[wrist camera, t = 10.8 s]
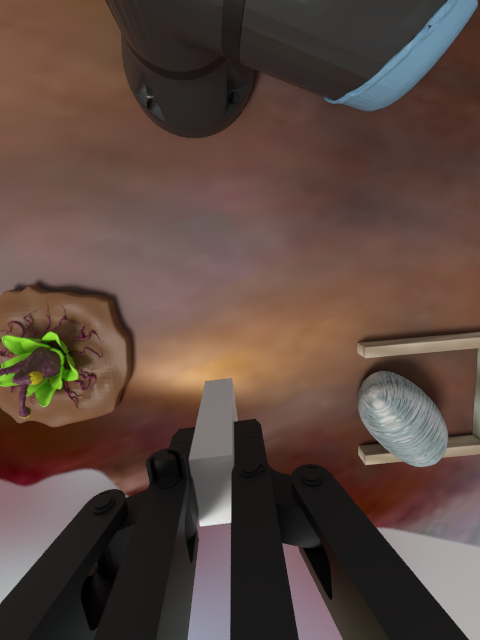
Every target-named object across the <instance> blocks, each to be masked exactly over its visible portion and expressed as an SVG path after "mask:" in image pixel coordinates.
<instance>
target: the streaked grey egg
mask: <svg viewBox="0 0 480 640" xmlns="http://www.w3.org/2000/svg"><path fill="white" fill-rule="evenodd" d="M358 410H359V415H360V417H361V420H362V422H363V424H364V425H365V426H366V428H367V429H368V431H369V432H370V433H371V434H372V435H373V436H374V438H375V439H376V440H377V441H378V442H379V443H380V444H381V445H382V446H383V447H384V448H385V449H387V450H388V451H389V452H390V453H391V454H393V455H394V456H395V457H397V458H399V459H400V460H402V461H404V462H406V463H408V464H410V465H413V466H418V467H424V466H430V465H433V464H436V463H437V462H438V461H439V460H440V459H441V458H442V457H443V455H444V454H445V452H446V448H447V442H448V432H447V426H446V423H445V421H444V419H443V416H442V414H441V413H440V411H439V410H438V408H437V406H436V405H435V403H434V402H433V401H432V400H431V399H430V398H429V397H428V396H427V395H426V394H425V393H424V392H423V391H422V390H421V389H420V388H419V387H417V386H416V385H415V384H414V383H412V382H411V381H409V380H408V379H406V378H404V377H402V376H400V375H398V374H396V373H393V372H389V371H379V372H376V373H373V374H371V375H370V376H369V377H367V378H366V379H365V380H364V381H363V383H362V385H361V387H360V391H359V395H358Z"/></svg>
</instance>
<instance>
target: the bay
mask: <svg viewBox="0 0 480 640" xmlns="http://www.w3.org/2000/svg"><path fill="white" fill-rule="evenodd" d="M472 348H478V360H477V374H476V389H475V403H474V417H473V432H472V435H465V436H455V437H448V442H447V448H446V452H445V454H444V455H443V457H453V456H463V455H474V454H480V332H474V333H463V334H452V335H440V336H429V337H418V338H406V339H395V340H384V341H372V342H361V343H357V353H359V354H360V355H361V356H363V357H364V358H371V357H382V356H394V355H405V354H416V353H427V352H438V351H450V350H461V349H472ZM358 455H359V456H360V458H361V459H362V460H363V462H364V463H365V465H370V464H380V463H390V462H401V461H402V460H400V459H399V458H397V457H395V456H394V455H393V454H391V453H390V452H389V451H388V450H387V449H385V448H384V447H383V446H382V445H381V444H370V445H360V446H358ZM443 457H442V458H443Z"/></svg>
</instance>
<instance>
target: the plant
mask: <svg viewBox="0 0 480 640" xmlns="http://www.w3.org/2000/svg"><path fill="white" fill-rule="evenodd" d="M131 371H132V355H131V339H130V336H129V335H128V333H127V332H126V331H125V330H124V329H123V327H122V326H121V324H120V321H119V318H118V315H117V312H116V309H115V302H114V300H113V299H110V298H107V297H104V296H102V295H97V294H96V295H84V294H80V293H77V292H73V291H55V292H52V291H48V290H45V289H43V288H41V287H40V286H38V285H30V286H27V287H26V288H25V289H24V290H9V291H5V292H4V293H3V294H2V295H1V298H0V407H1V409H2V410H3V411H5V412H6V413H8V414H9V415H11V416H12V417H13V418H14V419H15V420H16V421H17V422H18V423H23V422H26V421H38V422H41V423H44V424H46V425H48V426H50V427H59V426H63V425H66V424H70V423H74V422H79V421H83V420H87V419H91V418H96V417H99V416H102V415H105V414H108V413H110V412H112V411H113V410H114V409H115V408H116V407H117V406H118V404H119V402H120V399H121V395H122V392H123V389H124V387H125V385H126V384H127V382H128V381H129V379H130V376H131Z"/></svg>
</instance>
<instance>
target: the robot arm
mask: <svg viewBox="0 0 480 640" xmlns="http://www.w3.org/2000/svg"><path fill="white" fill-rule="evenodd" d="M106 2H107V4H108V6H109V8H110V10H111V12H112V14H113V16H114V18H115V21H116V23H117V25H118V27H119V29H120V31H121V42H122V59H123V66H124V70H125V74H126V77H127V81H128V83H129V86H130V88H131V90H132V92H133V94H134V96H135V98H136V99H137V101H138V103H139V105H140V106H141V108H142V109H143V111H144V112H145V113H146V114H147V116H148V117H149V118H150V119H151V120H152V121H153V122H154V123H156V124H157V125H158V126H160V127H161V128H163V129H164V130H166V131H168V132H170V133H172V134H175V135H178V136H182V137H188V138H200V137H206V136H210V135H213V134H216V133H218V132H220V131H222V130H223V129H225V128H226V127H228V126H229V125H230V124H231V123H232V122H233V121H234V120H235V119H236V118H237V117H238V116H239V115H240V113H241V112H242V110H243V109H244V107H245V105H246V103H247V101H248V99H249V96H250V93H251V90H252V86H253V79H254V71H255V70H257V71H259V72H262V73H265V74H267V75H270V76H272V77H275V78H277V79H280V80H282V81H285V82H287V83H290V84H293V85H295V86H298V87H300V88H303V89H305V90H308V91H310V92H313V93H315V94H318V95H321V96H323V97H324V99H325V100H326V101H327V102H329V103H332V104H337V103H342V104H345V105H348V106H351V107H354V108H357V109H360V110H363V111H374V110H377V109H380V108H385V107H387V106H389V105H391V104H392V103H394V102H395V101H397V100H398V99H400V98H401V97H402V96H404V95H405V94H406V93H407V92H408V91H409V90H411V89H412V88H413V87H414V86H415V85H416V84H417V83H418V82H419V81H420V80H421V79H422V78H423V77H424V76H425V75H426V74H427V72H428V71H429V70H430V69H431V68H432V67H433V66H434V65H435V63H436V62H437V61H438V60H439V59H440V57H441V56H442V55H443V54H444V53H445V51H446V50H447V49H448V48H449V46H450V45H451V44H452V42H453V41H454V40H455V38H456V37H457V36H458V34H459V33H460V32H461V30H462V29H463V28H464V26H465V25H466V23H467V22H468V20H469V19H470V17H471V16H472V14H473V13H474V11H475V10H476V8H477V6H478V2H477V0H106ZM146 467H147V472H148V477H149V481H150V484H149V487H148V489H146V490H145V491H143V492H140V493H138V494H135V495H133V496H130V497H127V498H126V497H125V494H124V493H123V492H122V491H121V490H118V489H112V490H107V491H104V492H101V493H99V494H98V495H96V496H94V497H93V498H92V499H91V500H90V501H88V502H87V503H86V504H85V506H84V507H83V508H82V509H81V510H80V512H79V513H78V514H77V515H76V516H75V517H74V519H73V520H72V521H71V522H70V523H69V524H68V525H67V527H66V528H65V529H64V530H63V531H62V532H61V534H60V535H59V536H58V537H57V538H56V539H55V541H54V542H53V543H52V544H51V545H50V546H49V548H48V549H47V550H46V551H45V552H44V553H43V555H42V556H41V557H40V558H39V559H38V561H37V562H36V563H35V564H34V565H33V566H32V567H31V569H30V570H29V571H28V572H27V573H26V575H25V576H24V577H23V578H22V579H21V580H20V581H19V583H18V584H17V585H16V586H15V587H14V588H13V590H12V591H11V592H10V593H9V594H8V595H7V597H6V598H5V599H4V600H3V601H2V602H1V604H0V640H187V638H188V629H189V621H190V612H191V603H192V595H193V594H192V593H193V586H194V577H195V568H196V560H197V551H198V542H199V539H198V531H197V521H198V517H199V523H200V526H207V525H216V524H224V523H231V625H230V627H231V628H230V633H231V635H230V640H299V639H298V633H297V627H296V621H295V616H294V610H293V604H292V599H291V592H290V586H289V580H288V575H287V569H286V563H285V557H284V552H283V546H282V543H285V544H290V545H294V546H298V547H299V551H300V553H301V555H302V557H303V559H304V561H305V563H306V565H307V567H308V569H309V572H310V574H311V576H312V577H313V580H314V581H315V584H316V586H317V587H318V590H319V592H320V594H321V596H322V598H323V600H324V602H325V604H326V606H327V608H328V610H329V612H330V614H331V616H332V618H333V620H334V622H335V624H336V626H337V628H338V630H339V632H340V634H341V636H342V638H343V640H469V639H468V638H467V637H466V636H465V634H464V633H463V632H462V631H461V630H460V628H459V627H458V626H457V625H456V624H455V622H454V621H453V620H452V619H451V618H450V616H449V615H448V614H447V613H446V612H445V610H444V609H443V608H442V607H441V606H440V604H439V603H438V602H437V601H436V600H435V598H434V597H433V596H432V595H431V594H430V592H429V591H428V590H427V589H426V587H425V586H424V585H423V584H422V583H421V581H420V580H419V579H418V578H417V577H416V575H415V574H414V573H413V572H412V571H411V569H410V568H409V567H408V566H407V565H406V563H405V562H404V561H403V560H402V559H401V557H400V556H399V555H398V554H397V553H396V551H395V550H394V549H393V548H392V546H391V545H390V544H389V543H388V542H387V541H386V539H385V538H384V537H383V536H382V534H381V533H380V532H379V531H378V530H377V528H376V527H375V526H374V525H373V524H372V522H371V521H370V520H369V519H368V518H367V516H366V515H365V514H364V513H363V512H362V510H361V509H360V508H359V507H358V506H357V504H356V503H355V502H354V501H353V500H352V498H351V497H350V496H349V495H348V494H347V492H346V491H345V490H344V489H343V487H342V486H341V485H340V484H339V483H338V481H337V480H336V479H335V478H334V477H333V475H332V474H331V473H330V472H329V471H328V470H326V469H325V468H324V467H321V466H319V465H313V464H307V465H302V466H300V467H298V468H296V469H295V470H294V472H293V473H292V475H287V474H282V473H279V472H277V471H275V470H273V469H272V468H271V467H270V466H269V465H268V462H267V458H266V452H265V446H264V440H263V435H262V429H261V424H260V423H259V422H258V421H257V420H256V419H251V420H243V421H238V419H237V412H236V404H235V397H234V389H233V382H232V378H230V379H222V380H214V381H206V382H205V386H204V390H203V395H202V400H201V404H200V409H199V414H198V418H197V423H196V427H192V428H184V429H179V430H178V431H177V432H176V433H175V434H174V435H173V437H172V440H171V443H170V446H169V448H166V449H162V450H160V451H158V452H155V453H154V454H153V455H151V456H150V457H149V458H148V459H147V461H146Z"/></svg>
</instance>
